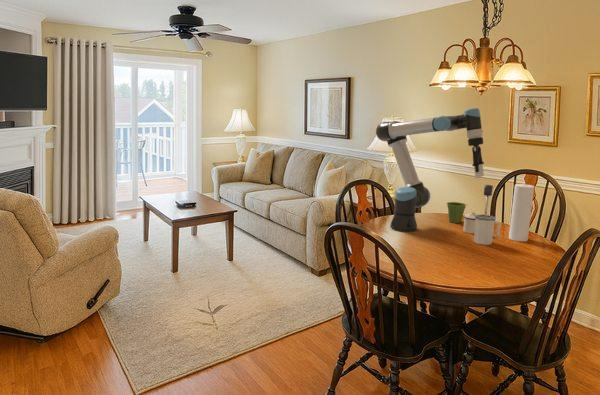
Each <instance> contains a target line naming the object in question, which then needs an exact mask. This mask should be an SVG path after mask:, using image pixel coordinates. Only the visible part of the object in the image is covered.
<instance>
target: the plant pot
mask: <svg viewBox="0 0 600 395" xmlns="http://www.w3.org/2000/svg"><path fill="white" fill-rule="evenodd" d="M446 205H447V211H448V212H447V213H448V214H447V215H448V222H450V223H455V224H458V223H459V224H460V223H462V220H463V218H464V212H465V209H466V208H467V205H468V204H467V203H462V202H458V201H457V202H456V201H455V202H454V201H451V202H450V201H449V202H446Z"/></svg>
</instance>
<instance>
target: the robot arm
mask: <svg viewBox="0 0 600 395" xmlns="http://www.w3.org/2000/svg"><path fill="white" fill-rule="evenodd" d="M481 119H482V118H481V112H480V109H479V108H477V107H475V108H469V109H465V110H464V113H462V114H458V115H449V116H446V115H441V116H438V117H437V116H436V117H429V118H422V119H415V120H409V121H402V122H401V121H397V120H394V121H382V122H380V123H379V124H378V125H377V127H376V129H375V135H376V137H377V138H378V140H380V141H381V142H386V143H387V146H388V148H389V147H390V148H391V149H392V152H393V155H394V157H395V158H394V159H395V160H396V163H397V165H398V168H399V172H400V175H401V177H402V180H403V183H404V186H403V187H399V188H397V189H396V190H395V194H394V208H393V211H394V214H393V216H392V219H391V222H390V227H391V228H392V230H393V229H394V231H397V230H398V231H397V232H404V231H406V232H407V233H408V232H409V233H410V232H415V231H417V229H418V225H417V220H416V209H417V208H422V207H424V206H426V205H427V204H428V203H429V202H430V200H431V192H430V190H429V189H428V188H427V187H426V186H425V185H424V182H422V181H421V180H419V177H418V173H417V171H416V168H415V165H414V163H413V160H412V157H411V154H410V150H409V148H408V145H407V141H408V138H407V136H413V135H419V134H420V135H421V134H428V133H436V132H437V133H438V132H445V131H446V132H451V131H457V130H461V129H466V136H467V144H468V147H471V148H472V149H471V151H472V164H471V166H472V167H473V169H474V178H475V179H482V177H484V176H485V173H484V164H485V163H484V161H483V157H482V149H481V146H480V145H483V144H484V138H483V133H484V130H483V129H482V120H481ZM472 146H473V147H472ZM391 228H390V229H391ZM406 232H405V233H406Z"/></svg>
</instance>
